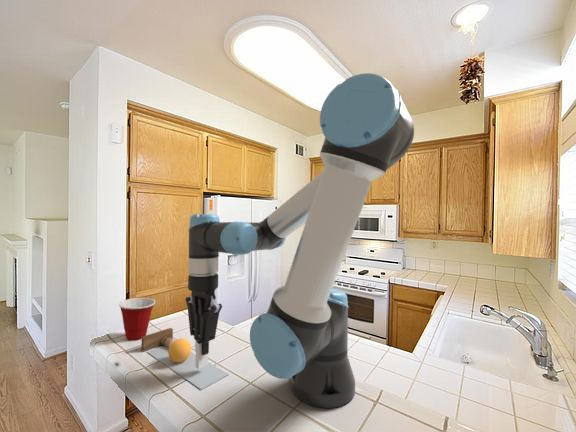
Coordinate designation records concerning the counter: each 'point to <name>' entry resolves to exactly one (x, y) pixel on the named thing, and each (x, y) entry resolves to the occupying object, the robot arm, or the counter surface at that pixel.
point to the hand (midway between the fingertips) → (201, 365)
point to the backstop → (155, 339)
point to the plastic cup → (136, 317)
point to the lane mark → (190, 368)
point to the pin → (167, 341)
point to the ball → (179, 350)
